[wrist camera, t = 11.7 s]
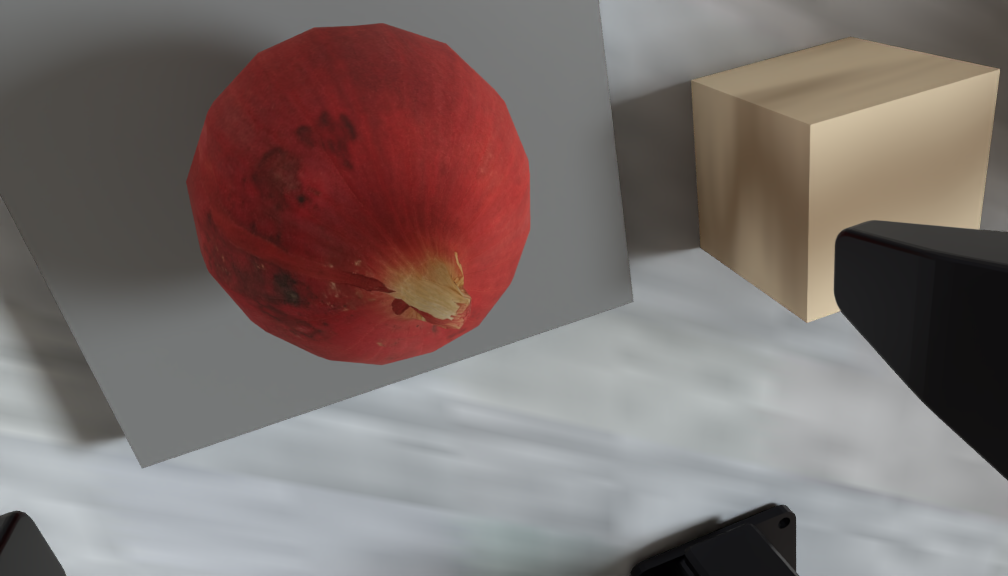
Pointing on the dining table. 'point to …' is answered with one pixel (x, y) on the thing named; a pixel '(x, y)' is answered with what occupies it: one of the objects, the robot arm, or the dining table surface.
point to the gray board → (168, 214)
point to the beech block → (835, 157)
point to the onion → (361, 193)
